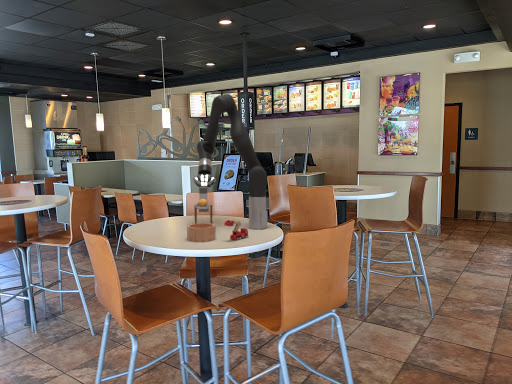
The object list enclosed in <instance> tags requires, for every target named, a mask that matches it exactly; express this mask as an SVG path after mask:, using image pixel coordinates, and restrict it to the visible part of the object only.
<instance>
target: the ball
mask: <svg viewBox="0 0 512 384" xmlns="http://www.w3.org/2000/svg"><path fill="white" fill-rule="evenodd" d="M198 202H199V205H200V206H202V207H204V206H206V205H207V202H208V200H207V201H206V200H205V199H201V200H200V201H198Z"/></svg>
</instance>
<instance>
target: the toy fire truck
mask: <svg viewBox="0 0 512 384" xmlns="http://www.w3.org/2000/svg"><path fill="white" fill-rule="evenodd" d="M241 225H242V223H241V222H240V221H236V220H231V219H227V220H225V221H224V226H226V227H233V226H234V229H233V230H232V234H230V235H229V237H230V238H229V239H230V240H233V241H235V240H236V241H238V240H241V239H244V238H245V239H247V238H249V230H248V228H245V227H241ZM239 229H240V231H239Z"/></svg>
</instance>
